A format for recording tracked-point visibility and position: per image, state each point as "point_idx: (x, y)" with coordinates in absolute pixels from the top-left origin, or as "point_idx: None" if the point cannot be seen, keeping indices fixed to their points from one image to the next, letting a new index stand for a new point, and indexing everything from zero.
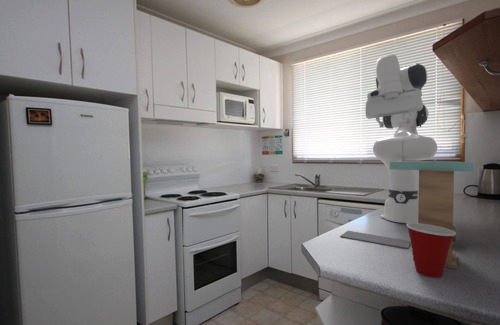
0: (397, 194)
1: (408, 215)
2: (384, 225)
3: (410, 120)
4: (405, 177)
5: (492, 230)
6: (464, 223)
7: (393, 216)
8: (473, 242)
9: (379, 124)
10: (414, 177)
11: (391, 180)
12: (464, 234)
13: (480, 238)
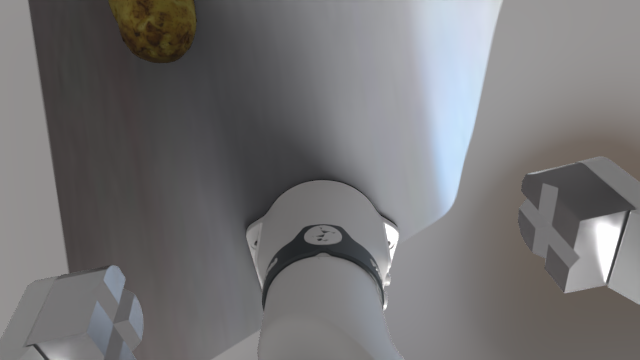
0: (337, 243)
1: (295, 204)
2: (365, 111)
3: (28, 290)
4: (302, 300)
5: (72, 246)
6: (149, 295)
7: (347, 197)
8: (89, 50)
9: (623, 170)
10: (264, 327)
11: (373, 303)
12: (126, 142)
13: (82, 118)
